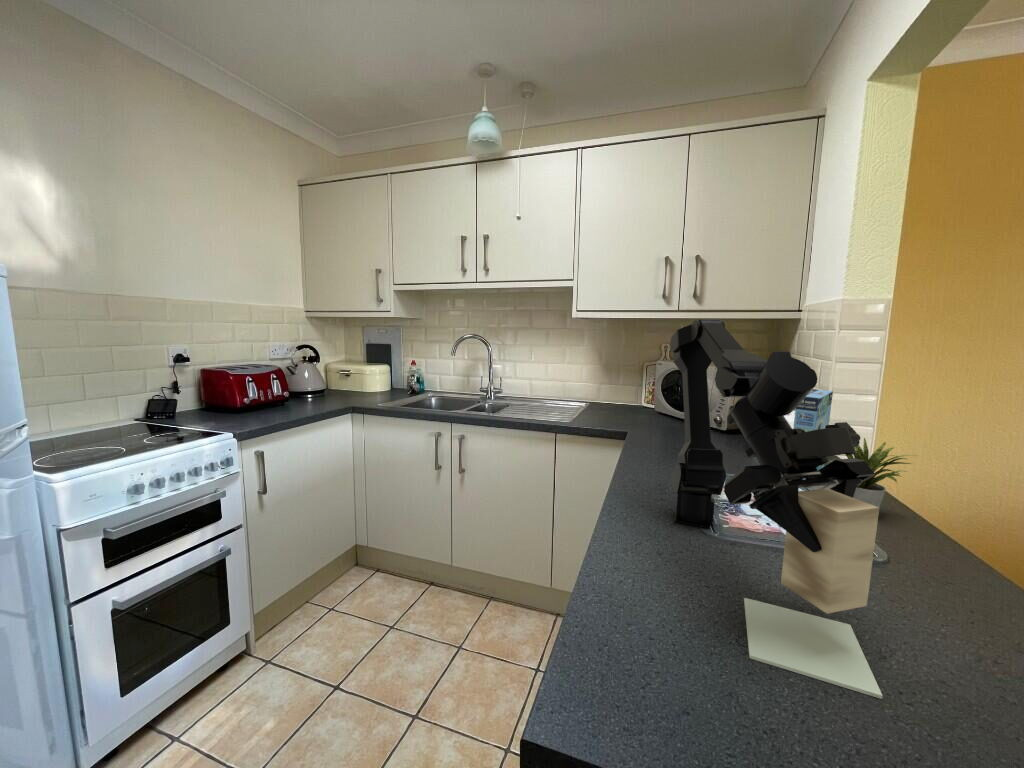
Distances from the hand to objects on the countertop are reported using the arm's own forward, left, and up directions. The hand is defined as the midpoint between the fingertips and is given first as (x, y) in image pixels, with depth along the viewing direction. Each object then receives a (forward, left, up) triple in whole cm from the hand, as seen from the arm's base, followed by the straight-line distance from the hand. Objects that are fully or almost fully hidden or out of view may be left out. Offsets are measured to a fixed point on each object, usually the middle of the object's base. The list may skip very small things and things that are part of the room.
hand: (839, 548), depth 49 cm
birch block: (-1, +1, -7) cm, 7 cm away
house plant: (+15, +51, -13) cm, 55 cm away
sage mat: (-3, 0, -13) cm, 13 cm away
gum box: (+9, +75, -13) cm, 76 cm away
